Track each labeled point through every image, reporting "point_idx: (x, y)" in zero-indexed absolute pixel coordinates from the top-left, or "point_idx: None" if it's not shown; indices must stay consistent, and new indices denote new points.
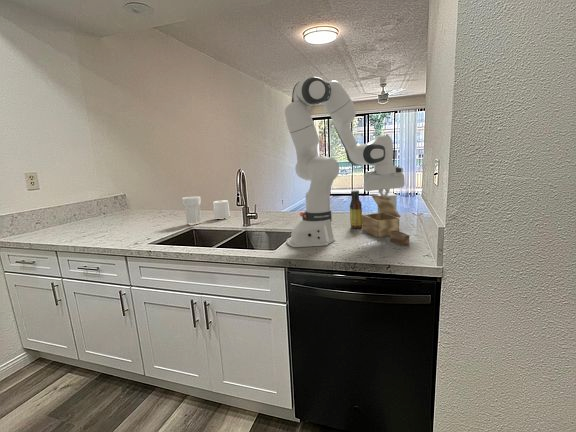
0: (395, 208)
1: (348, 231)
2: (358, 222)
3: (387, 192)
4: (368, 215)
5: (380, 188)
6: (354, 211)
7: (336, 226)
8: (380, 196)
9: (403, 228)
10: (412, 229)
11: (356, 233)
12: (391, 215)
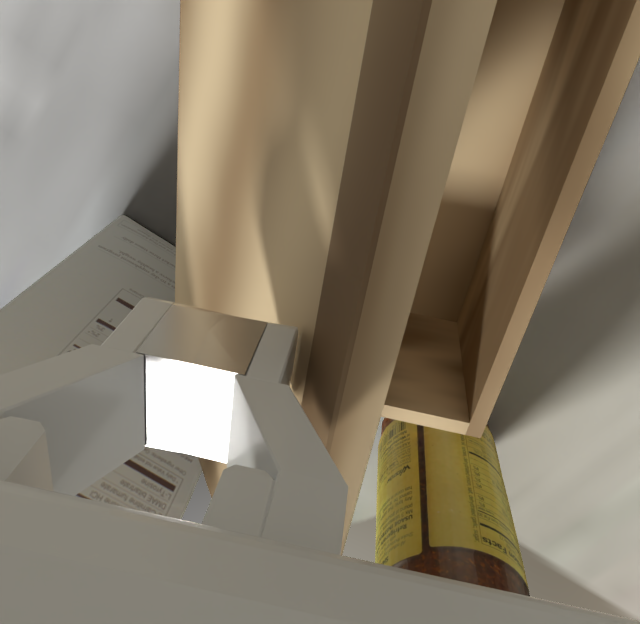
0: (4, 321)
1: (611, 364)
2: None
3: (58, 393)
4: (401, 398)
5: (403, 619)
6: (510, 549)
7: (545, 539)
8: (355, 384)
9: (82, 134)
10: (16, 35)
11: (619, 258)
12: (108, 298)
